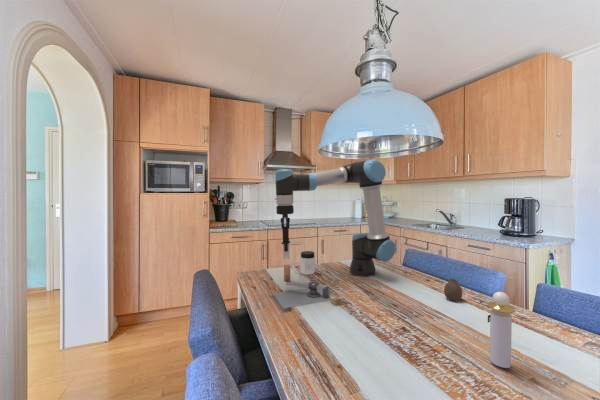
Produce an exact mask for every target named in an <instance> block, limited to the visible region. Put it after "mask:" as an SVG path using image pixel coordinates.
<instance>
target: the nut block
mask: <svg viewBox="0 0 600 400" xmlns="http://www.w3.org/2000/svg"><path fill="white" fill-rule="evenodd" d="M333 295H334V296H330V301H329V303H330V304H332V305H333V306H334V307H336V306H340V305H341V306H342V305H344V297H342V296H340V295H339V294H333Z"/></svg>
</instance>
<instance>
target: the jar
mask: <svg viewBox="0 0 600 400" xmlns="http://www.w3.org/2000/svg"><path fill="white" fill-rule="evenodd" d="M299 263H300V264H299V268H300V269H299V271H300V272H299V273H300V274H302V275H305V276H306V275H307V276H308V275H314V274H315V273H316V256H315V252H314V251H312V250H305V251H301V252H300V257H299Z"/></svg>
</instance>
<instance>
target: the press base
mask: <svg viewBox="0 0 600 400" xmlns="http://www.w3.org/2000/svg"><path fill="white" fill-rule="evenodd" d="M334 295H335V294H334V293H332V292H331V291H330V295H329V296H328V297H325V296H323V290H318V289H315V290H312V289H309V288H304V287H303V288H299V289H291V290H285V291H279V292H273V293H272V298H273V299H274V301H275V302H276V304H277V306H279V308H280V309H281V311H282V312H283V313H287V312H292V311H293V310H292V309H291V308H294V307H300V306H301V307H302V306H307V305H311V304H319V303H325V302H330V296H334Z"/></svg>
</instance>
